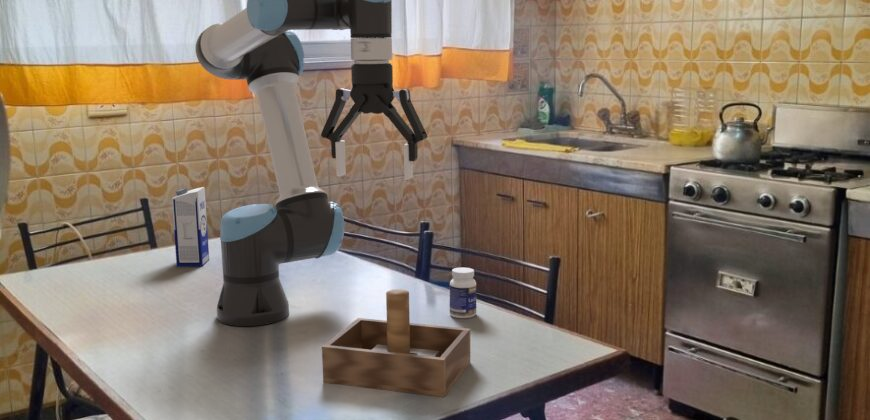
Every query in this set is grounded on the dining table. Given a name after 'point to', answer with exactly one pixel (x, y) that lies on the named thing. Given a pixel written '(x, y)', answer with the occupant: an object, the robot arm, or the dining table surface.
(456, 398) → the dining table surface
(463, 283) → the pill bottle
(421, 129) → the robot arm
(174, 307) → the dining table surface
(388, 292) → the dowel
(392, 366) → the box
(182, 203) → the milk carton
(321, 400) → the dining table surface
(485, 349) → the dining table surface
